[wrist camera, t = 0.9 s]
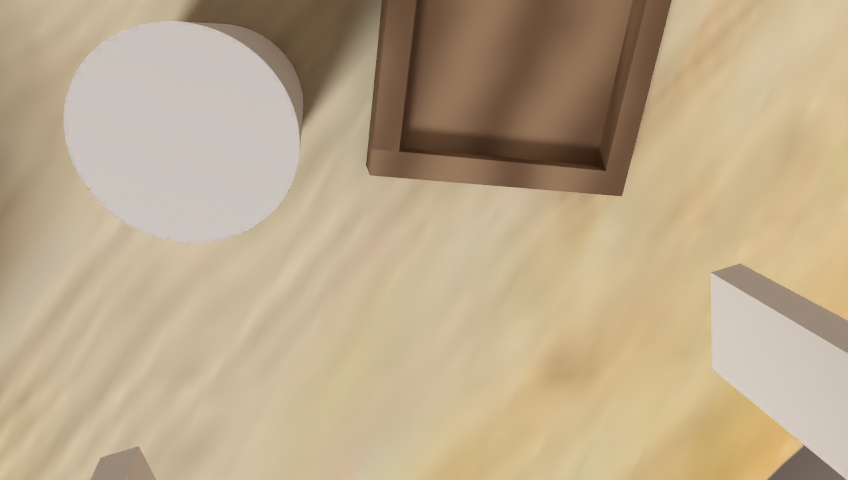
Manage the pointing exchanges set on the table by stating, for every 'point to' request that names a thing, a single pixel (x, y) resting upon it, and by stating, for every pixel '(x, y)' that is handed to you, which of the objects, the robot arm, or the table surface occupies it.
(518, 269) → the table surface
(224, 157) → the pale grey cylinder
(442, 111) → the tray
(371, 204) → the table surface
